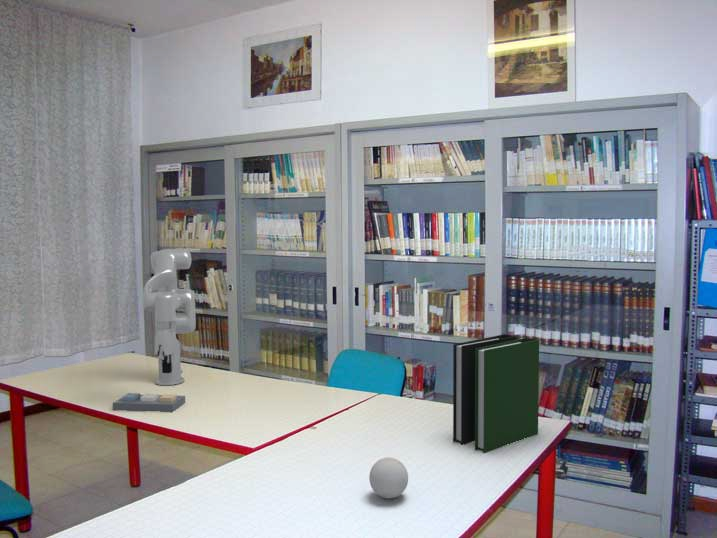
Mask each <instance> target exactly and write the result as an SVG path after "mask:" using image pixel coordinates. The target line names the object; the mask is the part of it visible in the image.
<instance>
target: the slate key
mask: <svg viewBox="0 0 717 538" xmlns="http://www.w3.org/2000/svg"><path fill="white" fill-rule="evenodd" d="M140 395H141V393H137V392H134V393H133V392H131V393H130V392H127V393H126V394H125V395H122V397H121V398H122V401H136V400H138V399H139V398H140Z"/></svg>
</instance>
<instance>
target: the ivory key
mask: <svg viewBox="0 0 717 538" xmlns="http://www.w3.org/2000/svg"><path fill="white" fill-rule="evenodd" d="M142 395H143V396H142V397H140V400H141V401H150V402H153V401H155V400H157V399H158V398H159V396H158V395H159V393H145V394H142Z"/></svg>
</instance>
